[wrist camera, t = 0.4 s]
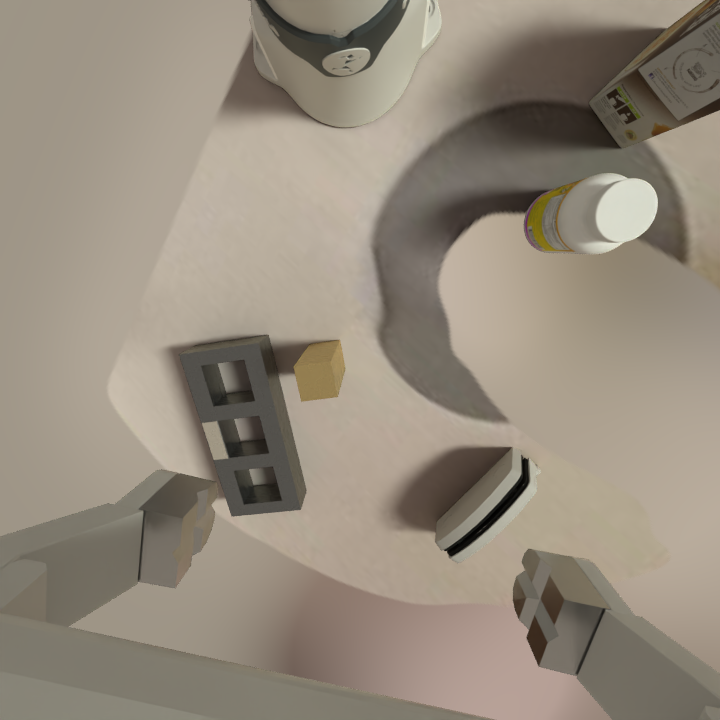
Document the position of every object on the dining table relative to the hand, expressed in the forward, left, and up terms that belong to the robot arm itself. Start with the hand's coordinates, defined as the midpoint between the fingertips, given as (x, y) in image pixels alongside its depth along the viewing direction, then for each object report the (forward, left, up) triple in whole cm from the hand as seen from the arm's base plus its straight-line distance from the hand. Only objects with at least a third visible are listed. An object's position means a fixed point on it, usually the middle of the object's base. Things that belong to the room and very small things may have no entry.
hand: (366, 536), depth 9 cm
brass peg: (+6, -7, -37) cm, 38 cm away
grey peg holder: (+14, -19, -36) cm, 43 cm away
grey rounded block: (+29, +11, -37) cm, 48 cm away
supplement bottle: (-6, +21, -37) cm, 43 cm away
